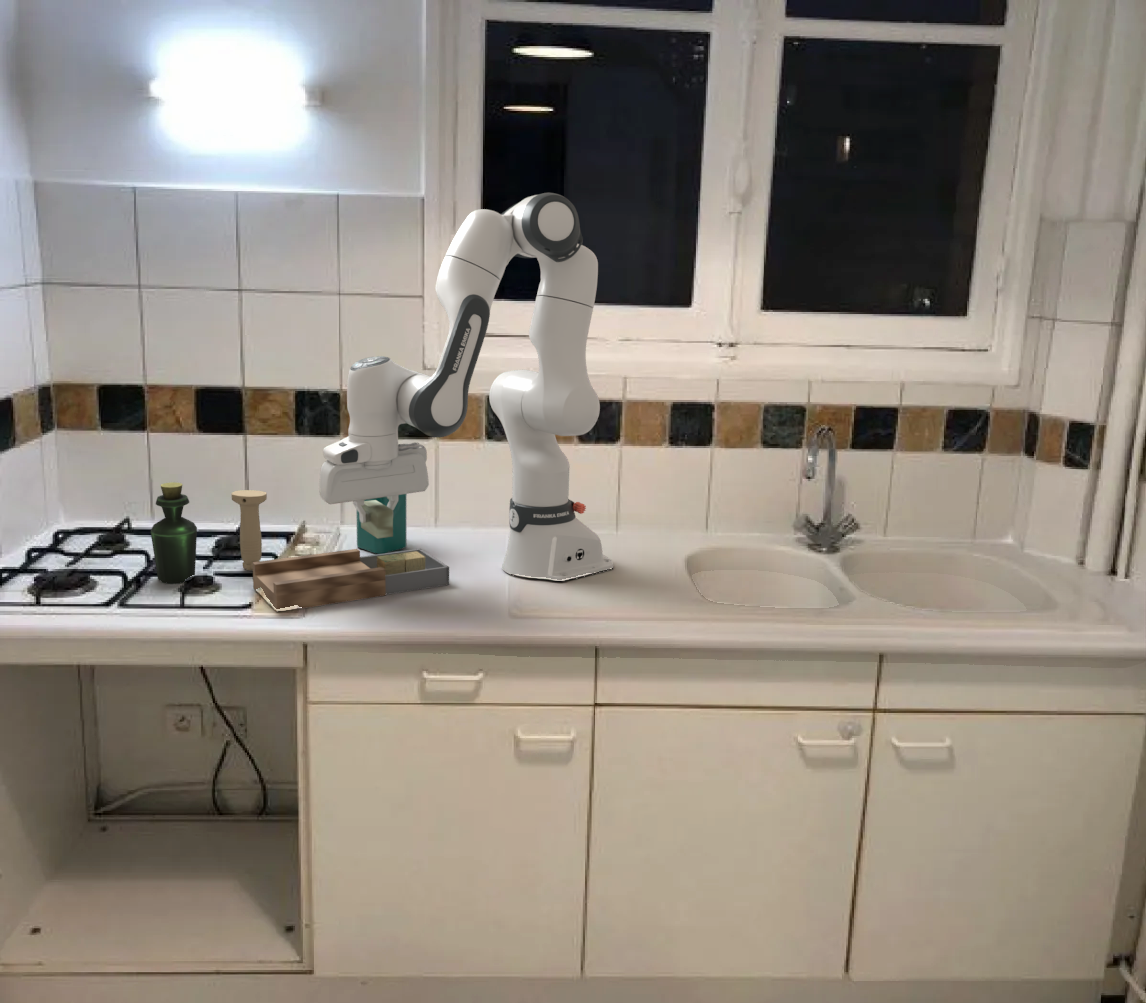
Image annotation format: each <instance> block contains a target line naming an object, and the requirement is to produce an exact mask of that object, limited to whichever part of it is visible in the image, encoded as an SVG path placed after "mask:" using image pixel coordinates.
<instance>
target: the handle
mask: <svg viewBox="0 0 1146 1003" xmlns="http://www.w3.org/2000/svg"><path fill="white" fill-rule="evenodd" d="M230 493H231V500H232V501H233V502H234V503H236V504H238V505H239V509H240V524H239V525H240V526H239V546H240V555H241V556H240V557H241V561H242V562H241V564H242V568H243V570H246V571H247V572H248V571H253V562H259V561H261V559H262V550H263V546H262V545H263V544H262V542H263V540H262V532H261V521H260V511H259V509H260V504H262V503H264V502H266V501H267V499H268V497H267V492H266V491H262V490H253V489H251V490H250V489H246V490H245V489H244V490H243V489H242V490H235V491H233V492H230Z"/></svg>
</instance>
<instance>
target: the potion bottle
mask: <svg viewBox="0 0 1146 1003" xmlns="http://www.w3.org/2000/svg"><path fill="white" fill-rule="evenodd" d="M160 490H161V492H162V495H159V496H157V498H156V501H155V505H156V506H158V507H161V509H162V512H163V515H164V517H163V518H162V519H161V520H159V521H157V522H155V523H154V524H153V525H152V527H151V529H150V537H151V543H152V550H153V557H154V561H155V562H154V563H155V568H156V576H157V580H158V581H159V582H161V583H163V584H171V585H174V584H175V585H176V584H177V585H178V584H183V582H184V581H185V579H187V578H188V577H190V576H192V575H195V576H196V561H197V560H196V559H197V536H198V535H197V534H198V530H197V529H198V526H196V524H195V522H193V521H191V520H189V519H187V518H185V517H183V516H182V515H183V510H184V507H185V506H186V505H188V504H190V500H189V497H188V496H187V495H186V494H183V493H182V490H183V483H181V482H175V481H174V482H172V481H171V482H165V483H161V484H160Z"/></svg>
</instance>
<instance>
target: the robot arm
mask: <svg viewBox="0 0 1146 1003" xmlns="http://www.w3.org/2000/svg"><path fill="white" fill-rule="evenodd" d="M580 226H581V224H580V219H579V214H578V212H577V209H576V207H575V205H574V204H573V203H572V201H570V200H569V199H568V198H567V197H565V196H563V195H561V194H559V193H554V192H544V193H539V194H534V195H531V196H527V197H525V198H523V199H522V200H521V201H519V202H517V203H515V204H514V203H513V204H512V205H511V206H509V207H508V208H507V209H506V210H505V211H503V212H502V213H499V212H498V211H495V210H492V209H487V208H486V209H485V208H484V209H483V208H482V209H481V208H479V209H475V210H473V211H472V212H470V213H469V214H468V215H467V216H466V218H465V220H463V222H462V224H461V225H460V226H459V228H458V230H457V231H456V234H455V235H454V237H453V238H452V241H451V242H450V245H449V246H448V249H447V251H446V252H445V256H444V258H443V260H442V262H441V265H440V267H439V270H438V273H437V278H436V282H435V288H434V290H435V294H436V297H437V300H438V302H439V304H440V305H441V307H442V308H443V309H444V311H445V314H446V316H447V319H448V325H449V327H448V333H447V334H448V335H447V338H446V340H445V343H444V346H443V349H442V352H441V355H440V358H439V361H438V364H437V366H436V370H435V372H434V373H433V374H432V375H428V374H426V373H422V372H418V371H416V370H412V369H409V368H407V367H405V366H403V365H401V364H399V363H397V362H396V361H393V360H392V359H391V358H390V357H388V356H382V355H381V356H379V355H378V356H369V357H365V358H362V359H359V360H357V361H356V362H354V363H353V364H351V366H350V367H349V371H348V376H347V381H346V382H347V383H346V402H347V404H346V406H347V413H348V415H349V425H348V428H347V429H348V435H347V436H346V437H344V438H342V439H340V440H337V441H335V442H333V443H331V444H329V445H327V446H325V447H324V448H323V450H322V455H323V458H324V459H325V461H324V462H323V463H322V465H321V467H320V472H319V483H318V486H319V488H318V489H319V497H320V499H322V500H323V501H324V503H326V504H328V505H337V504H343V503H344V504H345V503H350V502H352V504H353V506H354V507H355V509H357V510H358V512H359V517H360V522H362V523H367V522H370V521H371V519H370V513H369V512H367V511H364V509H363V508H362V506H363V505H364V500H366V499H373V498H380V497H387V498H388V499H389V502H388V505H387V507H388V508H390V509H392V510H394V508H395V506H396V504H397V502H398V495H402V494H414V493H415V494H416V493H422V492H423V493H424V492H426V490H427V489H428V487H429V485H430V484H429V473H428V467H427V459H428V454H427V449H426V447H425V445H423V444H420V443H419V442H411V443H400V444H399V427H400V425H404V424H408V425H409V426H410V427H411V426H412V427H414V428H416V429H418V430H419V431H421V432H422V433H423V434H425V435H426V436H428V437H431V438H444V437H448V436H449V435H452V434H453V433H455V432H456V431H457V430H458V429H459V428H460V427H461V426H462V425H463V422H464V421H465V419H466V416H467V413H468V406H469V405H468V404H469V389H470V384H471V380H472V377H473V374H474V370H475V368H476V365H477V362H478V358H479V356H480V352H481V351H482V350H481V349H482V347H483V343H484V340H485V338H486V334H487V331H488V326H489V322H490V316H491V309H492V304H493V301H494V299H495V295H496V293H497V291H498V288H499V285H500V283H501V281H502V278H503V276H504V274H505V270H506V267H507V266H508V265H509V262H510V261H511V260H512V259H513V258H514V257H515V258H516V257H518V258H522V259H534V258H536V259H537V261H538V262H537V263H538V264H539V269H540V282H539V284H538V289H537V294H536V297H535V302H534V306H533V311H532V317H531V321H530V326H529V330H528V338H529V340H530V343H531V344H532V346H534V348H535V350H536V353H537V359H538V371H535V370H529V369H515V370H507V371H504V372H502V373H500V374H498V375H497V377H495V378H494V380H493V382H492V384H491V385H490V390H489V405H490V406H491V409H492V411H493V413H494V414H495V415H496V416H497V418H498V419H499V421H500V423H501V425H502V428H503V429H504V433H505V436H506V439H507V442H508V443H507V444H508V446H509V452H510V456H511V466H512V468H511V469H512V470H511V471H512V474H511V475H512V477H511V479H512V481H511V482H512V487H511V490H512V491H511V494H512V495H511V496H512V497H511V498H510V500H509V508H508V509H509V515H508V518H509V528H510V529H509V534H508V535H509V536H508V543H507V548H506V553H505V557H504V559H503V563H502V566H501V568H502V570H503V571H504V572H505V573H507V574H509V575H511V574H519V575H525V576H531V577H546V578H551V579H557V580H562V579H566V578H571V577H576V576H578V575H583V574H586V573H594V572H599V571H602V570H606V569H610V568H613V569H614V562H613V561H612V559H611V558H609V557H608V556H606V555H604V554H603V547H602V546H603V545H602V542H601V538H600V537H599V536H598V534H597V533H596V532H595V531H593V530H592V529H591V528H590V527H588V526H587V525H586V524H584V523H583V522H582V521H581V520H580V519H578V518H577V516H576V513H578V514H580V515H581V514H582V515H583V514H585V511H586V509H587V507H586V505H585V504H584V503H581V502H580V501H576V502H575V501H573V500H571V499H570V498H569V495H570V494H569V490H570V488H569V487H570V469H571V468H570V462H569V459H568V457H567V456H566V454H565V453H564V452H563V450H562V449H561V448H560V445H559V443H558V441H557V437H556V436H559V437H570V436H571V437H572V436H583V435H585V434H587V433H588V432H590V431H591V430H592V429H593V428H594V426H595V425H596V423H597V421H598V418H599V416H600V411H601V410H600V409H601V405H600V403H601V402H600V399H599V396H598V393H597V392H596V390H595V389H594V387H593V386H592V384H591V382H590V378H589V374H588V369H587V354H586V353H587V342H588V337H589V330H590V325H591V320H592V316H593V312H594V307H595V301H596V295H597V288H598V277H599V276H598V275H599V262H598V259H597V256H596V254H595V252H593V251H592V250H591V249H589V247H586V246H585V245H583V240H584V237H583V236H582V231H581V227H580ZM361 505H362V506H361ZM575 512H576V513H575ZM599 573H600V572H599Z"/></svg>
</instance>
